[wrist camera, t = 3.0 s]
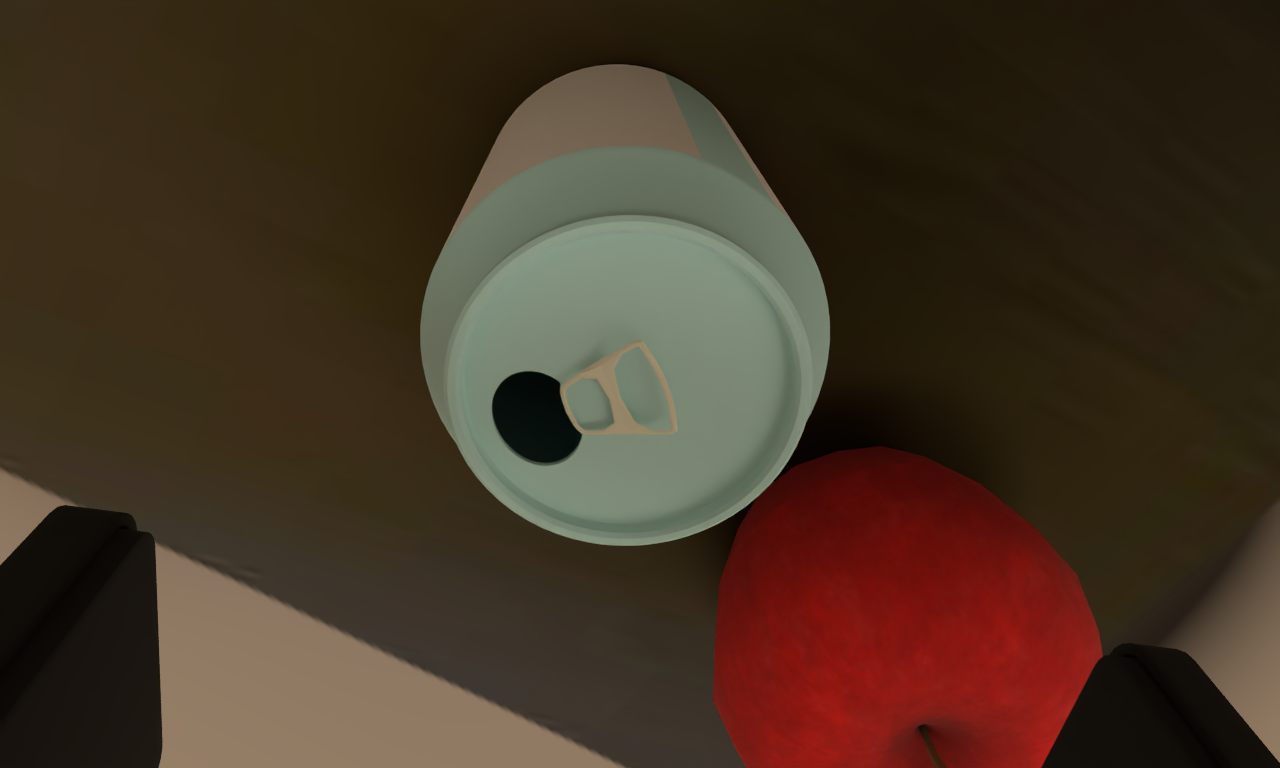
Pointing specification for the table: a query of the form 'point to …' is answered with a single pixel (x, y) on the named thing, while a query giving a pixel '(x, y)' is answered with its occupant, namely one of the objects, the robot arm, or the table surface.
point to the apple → (895, 622)
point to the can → (624, 315)
